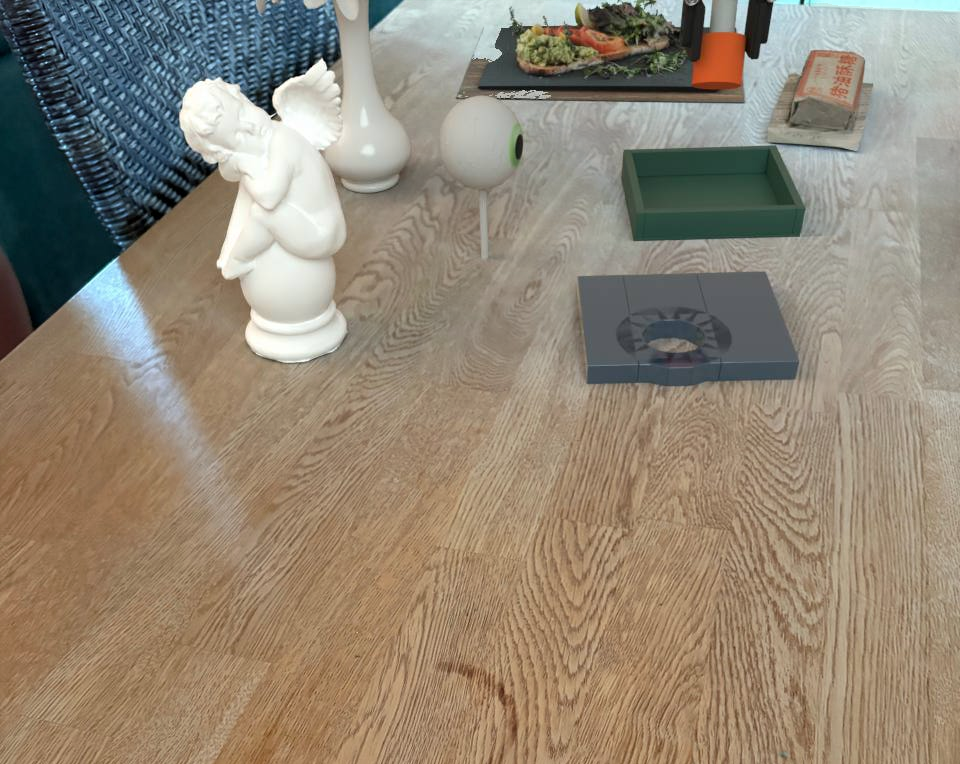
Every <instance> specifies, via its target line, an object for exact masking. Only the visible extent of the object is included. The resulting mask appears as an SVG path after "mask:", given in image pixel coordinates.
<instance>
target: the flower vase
mask: <svg viewBox="0 0 960 764" xmlns="http://www.w3.org/2000/svg"><path fill="white" fill-rule="evenodd" d="M268 1H269V0H255V1H254V2H255V5H256V10H257V11H258V13H259V14H260V15H262V14H264V12H265V11H266V7H267V4H268ZM328 1H329V0H303V5H304V7H306V9H308V10H314V9H318V8H320V7H322V6H323V5H324V4H326V3H327V2H328ZM331 1H332V5H333V9H334V13H335V17H336V18H335V19H336V23H337V28H338V34H339V35H338V37H339V48H340V58H341V60H340V61H341V71H342V93H341V101H342V102H341V104H339V107H340V109H341V112H340V114H341V115H342V117H343V122H342V124H343V129H342V130H341V131H342V134H341V137H340V138H339V139H338V141H337V142H333V143H332V146H329V147H327V148H326V150H321V155H322V156H323V157H324V159H325V160H326V162H327V164H328V166H329V168H330V170H331V172H332V174H333V173H334V175H336V176H338V177H339V178H340V182H341V185H342V186H343V187H344V188H345V189H347V190H348V191H351V192H354V193H361V194H371V193H379V192H383V191H386V190H389V189H391V188H393V187H395V185H397V184H398V182H399V180H400V172H402V171H403V169H405V167H406V166H407V164H408V162H409V160H410V158H411V156H412V152H413V148H412V147H413V146H412V141H411V137H410V135H409V132H408V131H407V129H406V128H405V126H404V125H403V124H402V123H401V122H400V120H399V119H398V118H396V117H395V116H394V115H393V113H391V112H390V110H389V109H388V107H387V105H386V103H385V101H384V99H383V97H382V95H381V92H380V90H379V85H378V81H377V77H376V71H375V65H374V58H373V57H374V56H373V50H372V43H371V35H370V24H369V21H370V20H369V3H370V1H369V0H331ZM271 3H272V4H275V5H276V6H277V5H279V4H280V0H271Z"/></svg>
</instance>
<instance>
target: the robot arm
mask: <svg viewBox="0 0 960 764" xmlns="http://www.w3.org/2000/svg"><path fill="white" fill-rule="evenodd" d="M774 2H777V0H748V5H747V11H746V18H745V24H744V31H743V35H745V36H746V37H747V39H746V48H745V55H747V57H748V59H750V60H759V58H760V52H761V45H766V44H767V43H768V40H769V34H770V27H771V21H772V15H773V9H774ZM681 8H682V9H681V18H680V26H679V27H680V39H679V41H680V46H681V47H685V51H686V53H687V56H688V58H689V60H690V62H697V60H700V54H701V45H702V36H703V28H704V27H705V18H706V5H705V3H704V2H703V0H682V7H681Z"/></svg>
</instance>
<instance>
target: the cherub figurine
mask: <svg viewBox="0 0 960 764" xmlns="http://www.w3.org/2000/svg"><path fill="white" fill-rule="evenodd" d="M327 69H328V66H327V63H326V61H324V58H323V57H321V58H320V59H319V60H318V62H316V63H315V64H313V65H312V67H310V68H309V69H308V70H307V71H306V72H305V74H302V75H299V76H295V77H290V78H289V79H287V80H285V82H283V83H282V84H280V85H279V87H275V89H274V91H273V95H272V99H271V100H272V107H273V108H274V109H275V111H276V112H275V113H274V114H271V115H269V113H268V112H267V111H266V110H265V109H263V108H262V107H259V106H257V105H256V104H254V103H253V102H252V101H251V100H250V99H249V98H248V97H247V96H246V95H244V93H242V91H241V86H240V85H239V84H237V83H233V84H231V83H228V82H226V81H224V80H223V79H222V78H221V77H220V76H218V77H217V78H215V79H210V78H205V80H200V81H197V82H195V83H194V84H193V85H192V86H191V87H188V89H187V91H186V92H185V94H184V96H183V98H182V107H181V110H180V111H179V118H178V121H179V126H180V130H181V131H182V132H183V134H184V135H183V136H184V138H185V141H186V143H187V144H188V146H189V148H191V150H192V151H193V152H194V153H196V152H197V153H199V154H200V155H201V157H202V159H203V161H204V162H206V163H207V164H209V165H214V164H215V165H216V164H217V163H218V164H217V165H218V166H217V167H218V170H219V174H220V176H221V177H222V178H223V179H224V181H227V182H232V183H236V182H239V183H238V191H237V196H236V198H235V200H234V201H235V202H234V205H233V209H232V213H231V216H230V219H229V223H228V227H227V231H226V234H225V235H226V236H225V239H224V242H223V244H222V247H221V250H220V254H219V258H218V259H217V260H216V268H217V269H220V270H221V274H222V277H223V278H224V280H227V281H228V280H230V281H232V280H235V279H237V278H238V279H239V280H240V288H241V291H242V295H243V297H244V298H245V300H246V302H247V304H248V305H249V306H250V307H251V309H250V320H249V321H248V323H247V325H246V328H245V332H244V336H245V341H246V343H247V345H248V346H249V348H250V349H251V351H252V352H254V353H255V354H256V355H257V356H260V357H262V358H265V359H269V360H274V361H277V362H279V363H281V362H282V363H283V364H284V363H287V364H290V363H291V364H292V363H305V362H309V361H311V360H313V359H316V358H318V357H320V356H324V355H327V354H330V353H334V352H335V350H337V349H338V347H340V345H341V344H342V343H343V341H344V339H345V338H346V336H347V334H348V332H349V330H348V323H347V320H346V317H345V316H344V314H343V313H342V311H341V310H339V309H338V308H337V304H336V301H335V299H334V298H333V297H334V295H335V291H336V282H337V272H336V267H335V261H334V259H333V256H332V255H335V254H336V253H337V252H339V251H340V250H341V249H342V248H343V246H344V245H345V242H346V240H347V224H346V220H345V216H344V211H343V209H342V204H341V200H340V195H339V193H338V190H337V186H336V183H335V179H334V175H333V172H332V171H331V169H330V168H329V166H328V164H327V162H326V160H325V159H324V157H323V155H322V152H321V151H322V150H326V148H327V147H329V146H332V143H333V142H337V141H338V139H339V138H340V137H341V134H342V131H341V130H342V129H343V124H342V122H343V117H342V115H341V114H340V112H341V109H340V104H341V102H342V101H341V100H342V98H341V97H340V95H341V88H340V86H339V85H338V83H337V82H336V83H335V82H334V81H335V79H336V74H335V71H333V70H327ZM275 115H277V116H279V118H280V121H278V120H275V119H272V117H274V116H275Z"/></svg>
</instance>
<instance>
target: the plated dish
mask: <svg viewBox="0 0 960 764" xmlns="http://www.w3.org/2000/svg"><path fill="white" fill-rule="evenodd" d="M620 2H621V4H618V3H620ZM657 2H658V1H657V0H633V3H635V6H634V5H633V4H632V2H631V1H630V2H629V1H623V0H617V2H616V3H615V2H614V3H612V4H610V3H609V2H608V1H605V2H603V1H602V2H600V3H601V4H600V5H601V6H599V5H596V6H595V7H594V8H590V7H589V8H588V9H586V8H585V7H584V5H582V2H581V1H580V2H579V1H578V3H577V4H576V6H575V8H574V19H575V23H576V25H569V24H568V23H566V21H563V25H562V24H561V25H559V26H558V25H557V26H556V25H554V26H548V25H549V24H548V20H547V18H546V16H545V15H542V19H543V20H544V22H543V24H544V25H547V26H541V24H539V23H534V24H533V25H534V26H522V25H523V22H520V23H519V21H517V19H515V12H514V11H515V9H514V8H513V7H512V6H509V8H508V10H509V14H510V18H509V20H510V21H512V22H511V25H512V26H510V27H509V28H501V31H500V33H499V36H498V38H497V40H496V43H495V48H496V49H499V50H500V51H501V52H502V55H501V56H500V57H499V58H498V59H496V60H495V61H492V60H490V59H487V60H486V58H484V59H478V58H476V59H474V58H473V59H474V60H473V59H472V58H471V59H470V61H469V64H468V66H467V69H466V72H465V74H464V77H463V80H462V82H461V83H460V84H461V85H460V86H459V89H458V92H457V95H456V97H455V99H461V100H462V99H463V100H464V99H467V98H470V97H474V96H489V95H492V94H493V95H492V96H489V97H493V98H495V99H497V96H495V95H497V94H498V93H500V92H504V93H503V94H505V93H511V92H513V91H515V92H513V93H516V92H519V91H522V90H525V91H527V92H528V91H530V90H536V91H543V92H548V93H545V94H542V95H551V97H549V98H546V99H543V100H544V101H547V100H549V101H551V100H552V101H613V102H614V101H617V102H618V101H619V102H622V101H624V102H682V103H683V102H686V103H687V102H689V103H690V102H691V103H746V100H745V91H744V83H743V81H742V85H741V86H740V87H738V88H733V89H700V88H695V87H693V86H692V78H693V67H694V62H690V60H689V58H688V56H687V53H686V51H685V47H681V46H680V41H679V39H680V27H681V26H676V25H675V24H673V21H672V20H671V21H667V19H666V18H665V16H664V15H663V13H660V14H659V12H658V11H659V10H658V9H656V10H655V14H654V13H652V14H651V11H652V10H651V9H650V10H649V11H647V12H646V11H645V10H646V7H648V6H649V5H650V8H653V6H655V5H656V4H657ZM642 6H643V7H642ZM517 25H518V26H517ZM709 30H710V26H704V28H703V34H705V33H709ZM734 33H738V32H737V27H735V32H734ZM488 60H490V61H492V62H489V61H488ZM463 92H465V93H463ZM532 92H534V91H532ZM529 93H531V92H528V93H525V94H524V95H523V96H526V95H527V94H529ZM458 95H462V96H461V97H462V98H461V97H460V98H457V96H458ZM517 95H518V94H517ZM465 96H468V97H465ZM507 96H509V95H507ZM514 96H515V95H511V96H510V98H511V99H510V100H515V99H514V98H513V97H514ZM521 96H522V95H521ZM539 96H540V95H539ZM539 96H535V97H536V98H535V99H536V100H538V98H539ZM498 100H502V99H501V96H500V98H499V99H498ZM503 100H506V99H505V98H504V99H503ZM521 100H531V99H530V98H525V99H524V98H522V99H521ZM536 100H535V101H536ZM543 100H542V101H543ZM538 101H539V100H538Z"/></svg>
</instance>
